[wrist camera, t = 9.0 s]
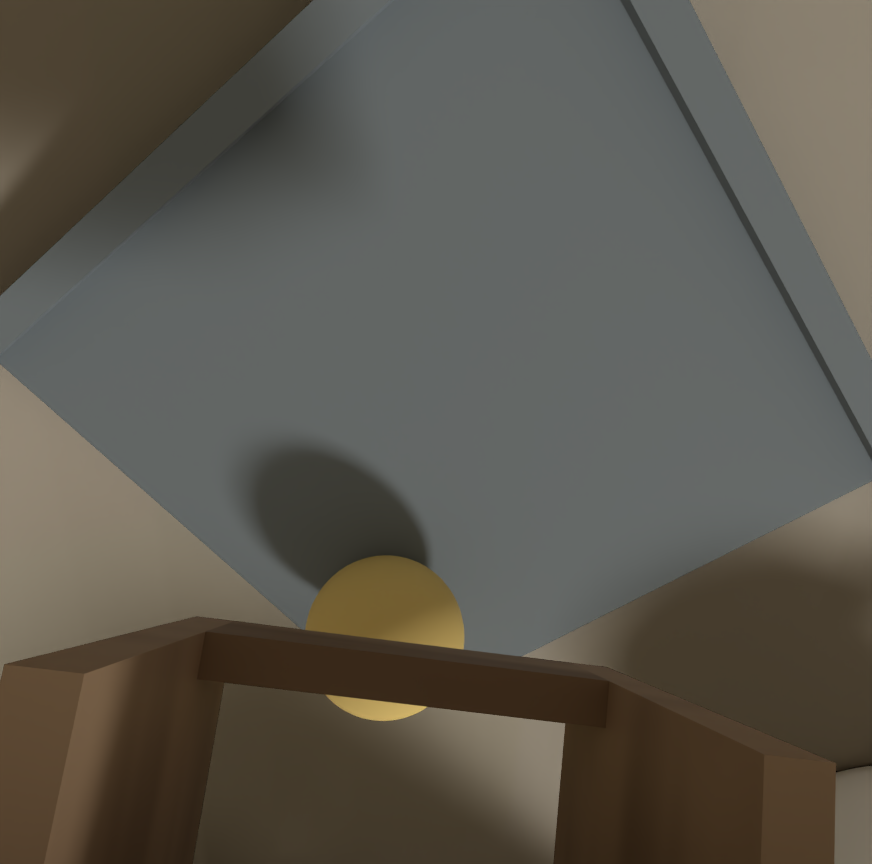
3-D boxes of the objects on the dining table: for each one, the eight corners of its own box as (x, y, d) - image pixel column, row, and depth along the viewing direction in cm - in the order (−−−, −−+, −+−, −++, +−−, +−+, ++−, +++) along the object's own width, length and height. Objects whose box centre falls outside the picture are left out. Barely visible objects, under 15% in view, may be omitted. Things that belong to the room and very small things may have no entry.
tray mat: (401, 706, 23) (399, 739, 22) (-24, 327, 17) (-56, 348, 16) (904, 451, 18) (931, 478, 17) (557, -219, 12) (568, -241, 11)
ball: (384, 499, 19) (401, 589, 22) (256, 590, 17) (291, 677, 20) (495, 585, 17) (499, 675, 19) (361, 702, 15) (385, 784, 18)
